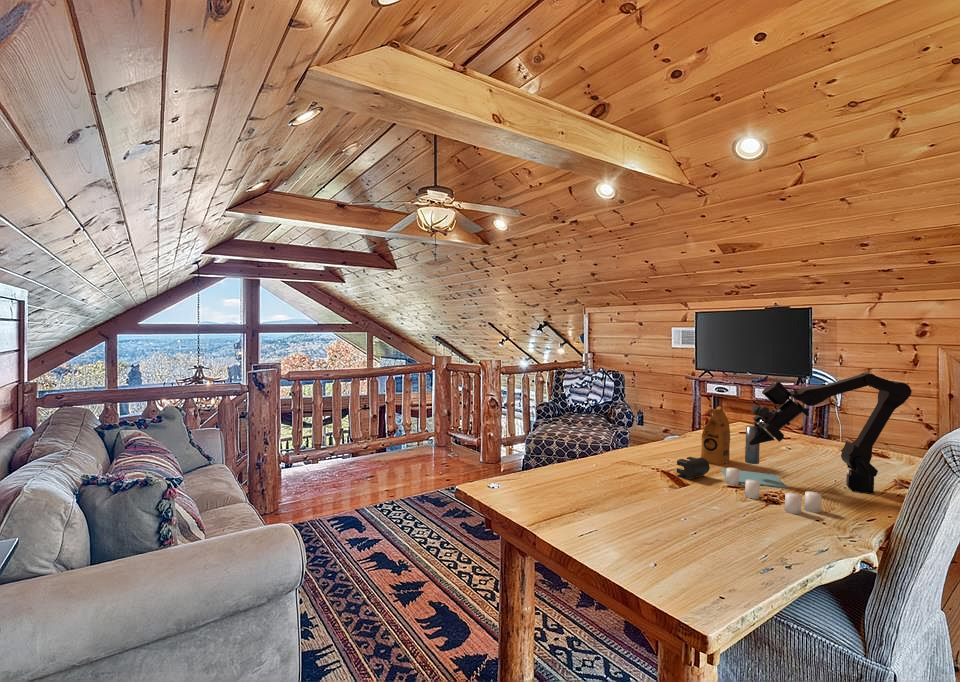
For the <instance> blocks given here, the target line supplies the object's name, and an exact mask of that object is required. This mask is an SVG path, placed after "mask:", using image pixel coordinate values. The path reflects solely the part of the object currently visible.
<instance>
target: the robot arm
mask: <svg viewBox="0 0 960 682" xmlns="http://www.w3.org/2000/svg"><path fill="white" fill-rule="evenodd" d="M867 386H868V387H871V388H873V389H874V390H878V393H877V403H876V405H875V407H874V408H873V411H872V412H871V414H870V415H869V417H868V419H867V420H866V423H865V424H864V426H863V427H862V429H861V431H860V432H859V434H858V436H857V437H856V439H854V441H852V442H850V441H848V440H847V441H846V442H845V443H844V446H843V448H842V449H840V452H841V454H840V458H841V460H842V461H843V462H844V463H845V464H846V466H847V468H848V473H846V481H845V485H847V486H848V487H847V486H846V487H847V488H848V489H849V490H850V491H851V490H852V492H855V491H859V492H858V493H863V492H867V493H866V494H870V493H876V491H875V490H874V489H875V477H877V475H878V473H879V470H878V469H877V468H875V466H874V465H872V464H871V461H872V458H873V447H874V445H875V443H876V442H877V440H878V438H879V436H880V435H881V433H882V432H883V430H884V428H885V426H886V425H887V423H888V422H889V420H890V418H891V416H892V415H893V413H894V412H895V410H896V409H897V408H899V407H901V406H902V405H903V404H904V403H906V402H907V400H908V399H909V398H910V397H911V396H912V393H913V392H912V389H911V387H910V385H909V384H908V383H905V382H901V381H895V380H889V379H885V378H883V377H880V376H877V375H875V374H873V373H869V372H862V373H859V374H858V375H854V376H851V377H847V378H844V379H841V380H837V381H834V382H829V383H827V384H823V385H812V386H805V387H800V388H798V389H797V390H790V391H789V390H788V389H787V388H786V387H785V386H784V385H783V384H782V382H780V381H778V380H776V381H775V382H774V383H771V384H770V385H767V386H766V387H765V388H763V390H762V392H761V393H762V394H763V395H764V397H765V398H767V399H768V400H769V401H770V402H771V403H772V404H773V405H774V406H775V405H776V406H777V405H778V406H779V407H777V408H776V409H771V410H770V409H769V408H768V407H766V406H765V405H764V406H760V405H758V404H753V406H752V408H751V410H750V412H751V413H752V414H753V415H755V416H754V417H753V418H752V420H753V426H758V427H760V428H759V432H758V434H757V435H756V436H755V437H754V438H753V439H752V440H751V441H750V442H749V444H750V445H755V444H759V443H760V444H762V443H767V442H772V441H776V440H777V442H781V441H782V440H783V439H785V435H784V433H783V432H782V431H781V429H783V428H784V427H785V426H788V427H789V426H790V425H791V422H792V421H793V420H794V419H797V417H799V415H801V414H802V415H804V416H805V417H809V416H810V408H809V407H814V406H817V405H818V404H819V405H820V404H821V403H823V402H824V401H826V400H828V399H829V398H831V397H834V396H837V395H841V394H844V393H848V392H850V391H851V392H852V391H854V390H858V389H862V388H865V387H867ZM794 400H796V401H794ZM803 405H806V406H808V407H804V406H803ZM750 412H749V413H750Z"/></svg>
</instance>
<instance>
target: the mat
mask: <svg viewBox="0 0 960 682" xmlns="http://www.w3.org/2000/svg"><path fill="white" fill-rule="evenodd" d="M720 472H721V473H722V474H723V476H724V478H725V479H726V468H721V469H720ZM748 479H749V480H756V481H759V482H760V486H761V485H763V487H771V486H772V487H771V488H779V489H780V488H781V489H787V488H788V487H787V485H786V484H785V483H784V481H782V480H781V479H780V478H779V477H778V476H777V475H776V474H775V473H765V472H757V471H756V472H755V471H748V470H747V471H745V470H739V484H744V485H745V481H746V480H748Z"/></svg>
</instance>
